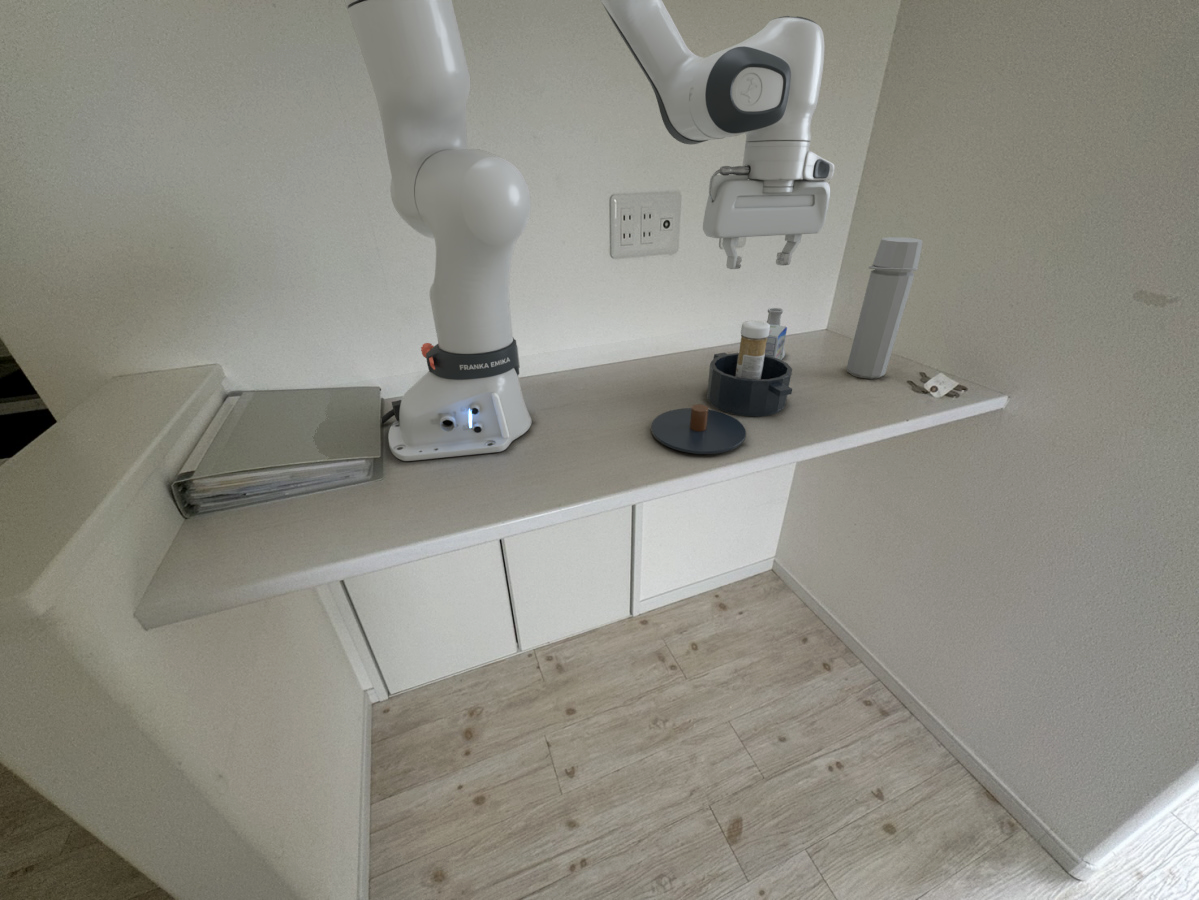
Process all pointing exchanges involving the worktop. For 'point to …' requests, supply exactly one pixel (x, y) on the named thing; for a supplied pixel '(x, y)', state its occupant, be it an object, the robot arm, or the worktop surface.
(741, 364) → the sprinkles bottle
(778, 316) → the flask
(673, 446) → the pan lid
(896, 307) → the water bottle
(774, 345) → the medicine box
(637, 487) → the worktop surface
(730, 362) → the pan
